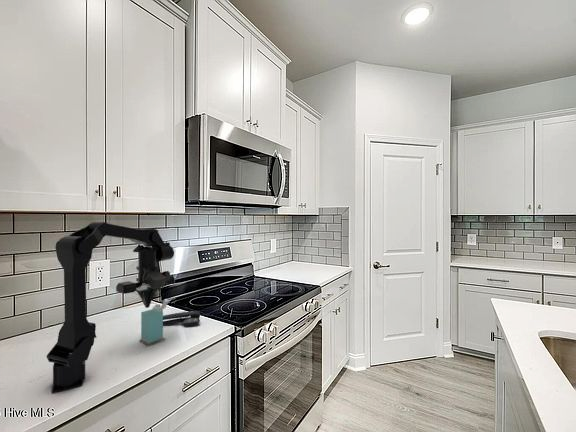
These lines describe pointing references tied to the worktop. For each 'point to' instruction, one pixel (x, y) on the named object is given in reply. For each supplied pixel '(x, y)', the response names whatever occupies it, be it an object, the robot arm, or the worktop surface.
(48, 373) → the worktop surface
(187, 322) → the can opener
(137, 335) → the worktop surface
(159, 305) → the light grey forked piece
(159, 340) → the brown pedestal
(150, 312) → the teal rectangular block
